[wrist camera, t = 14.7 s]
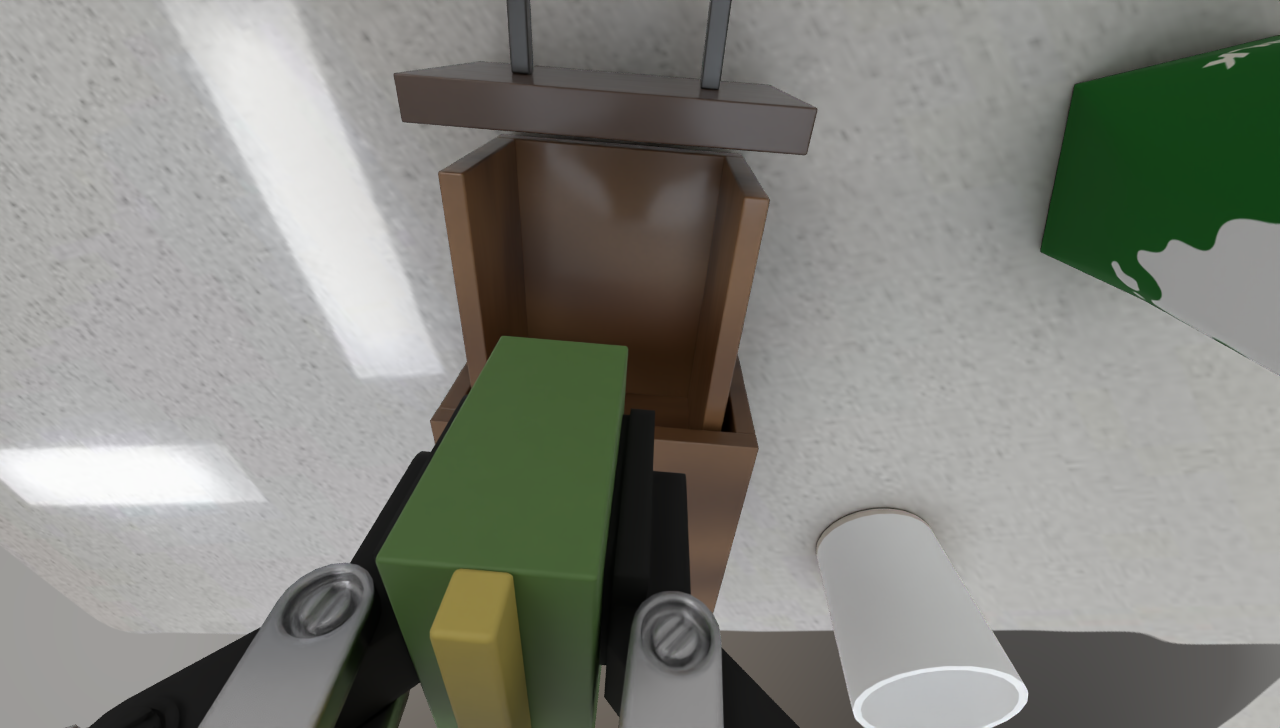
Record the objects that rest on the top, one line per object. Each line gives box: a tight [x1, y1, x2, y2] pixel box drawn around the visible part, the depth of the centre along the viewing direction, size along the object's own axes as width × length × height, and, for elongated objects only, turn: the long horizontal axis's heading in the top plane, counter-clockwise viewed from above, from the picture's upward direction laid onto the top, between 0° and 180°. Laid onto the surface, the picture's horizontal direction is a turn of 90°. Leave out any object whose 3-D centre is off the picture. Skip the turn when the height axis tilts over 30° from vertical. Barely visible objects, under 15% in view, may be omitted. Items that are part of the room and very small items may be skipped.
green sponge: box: [376, 336, 628, 728], centre depth 9 cm, size 3×6×6 cm, turn 176°
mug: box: [816, 508, 1028, 728], centre depth 32 cm, size 11×9×10 cm
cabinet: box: [430, 353, 759, 613], centre depth 27 cm, size 17×13×9 cm
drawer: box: [394, 0, 817, 432], centre depth 19 cm, size 22×11×7 cm, turn 176°
